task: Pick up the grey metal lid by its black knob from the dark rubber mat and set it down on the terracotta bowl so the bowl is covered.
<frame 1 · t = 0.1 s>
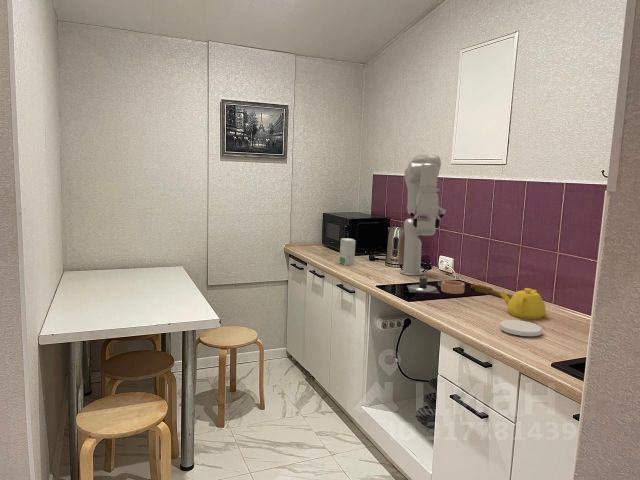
hand: (425, 227, 223), 31 cm above the counter, tool pointing down, fingers open, 9 cm apart
plastic lid: (520, 333, 172), on the counter
lid: (422, 289, 231), point 1 cm above the counter, touching mat
teapot: (520, 314, 195), on the counter
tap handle: (494, 296, 225), on the counter
mat: (422, 290, 232), on the counter
bowl: (452, 292, 230), on the counter
white cylinder: (346, 264, 295), on the counter
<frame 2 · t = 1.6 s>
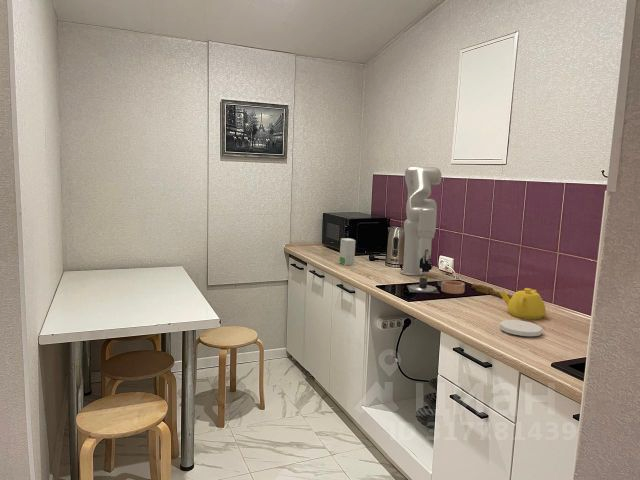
hand: (424, 270, 230), 10 cm above the counter, tool pointing down, fingers open, 9 cm apart
nothing on the counter moved.
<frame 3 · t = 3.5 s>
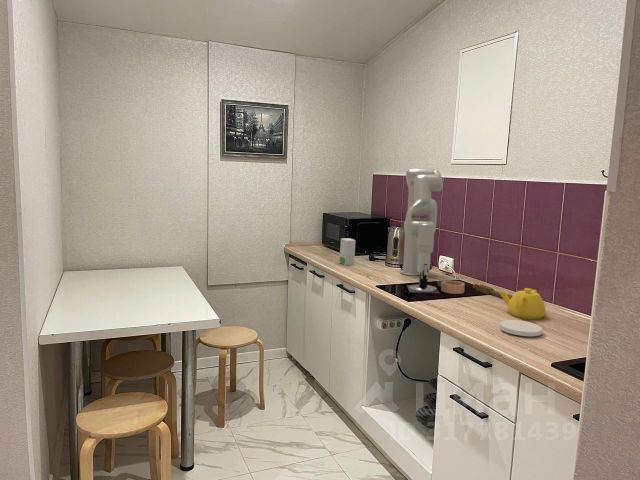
hand: (422, 285, 231), 2 cm above the counter, tool pointing down, fingers closed on lid, 3 cm apart
lid: (422, 289, 231), point 1 cm above the counter, touching gripper, mat
everything else where it was.
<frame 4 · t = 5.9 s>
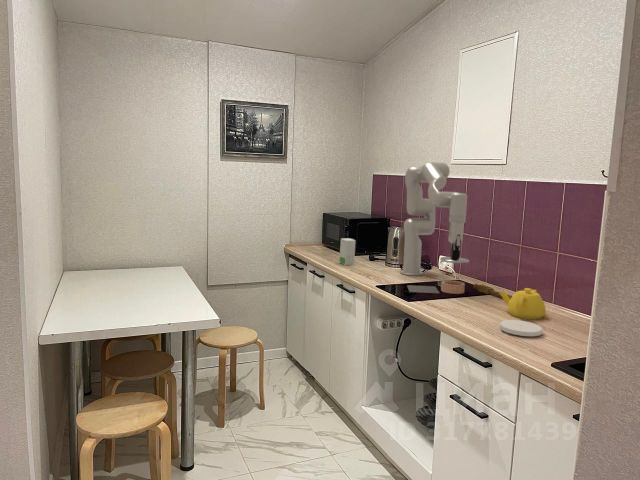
hand: (454, 257, 227), 17 cm above the counter, tool pointing down, fingers closed on lid, 3 cm apart
lid: (454, 260, 228), point 15 cm above the counter, touching gripper
everything else where it was.
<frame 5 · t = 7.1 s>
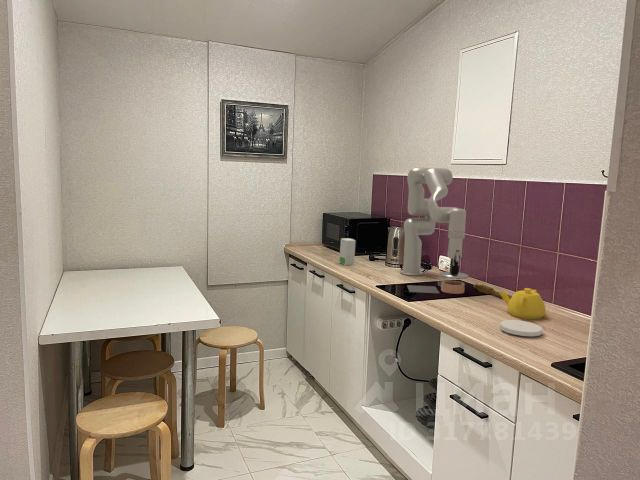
hand: (453, 272, 228), 10 cm above the counter, tool pointing down, fingers closed on lid, 3 cm apart
lid: (453, 276, 228), point 8 cm above the counter, touching gripper
when the fingers open (7 cm above the counter, at t = 8.3 s): lid stays where it is, resting on bowl.
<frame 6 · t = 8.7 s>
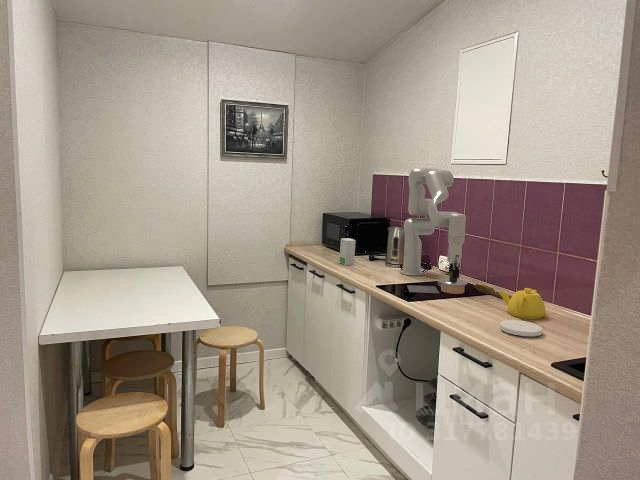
hand: (453, 275, 228), 8 cm above the counter, tool pointing down, fingers open, 8 cm apart
lid: (453, 282, 229), point 4 cm above the counter, touching bowl
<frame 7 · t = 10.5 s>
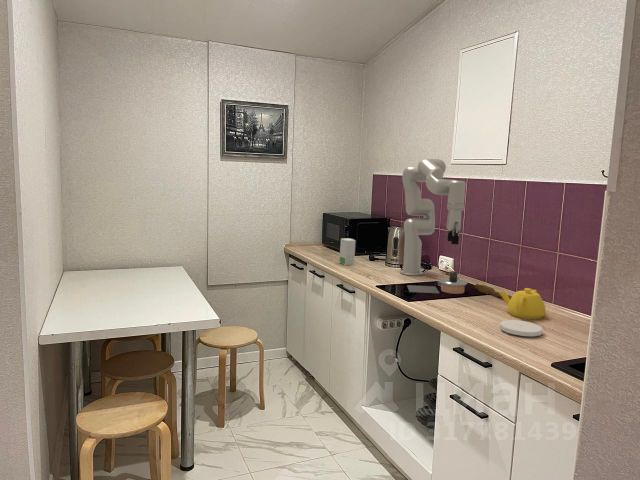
hand: (452, 242, 229), 24 cm above the counter, tool pointing down, fingers open, 9 cm apart
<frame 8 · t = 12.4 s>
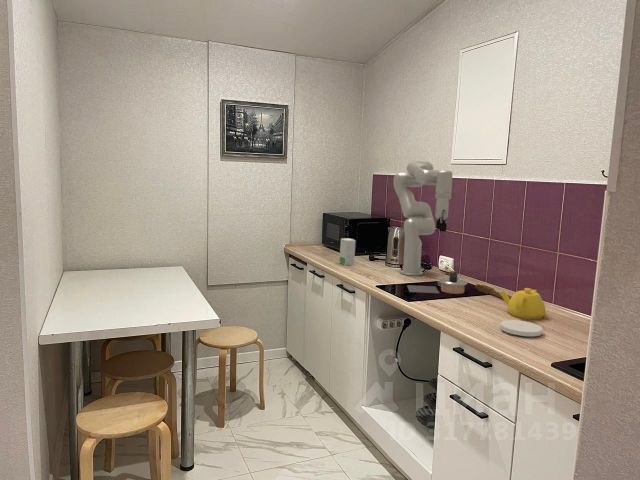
hand: (441, 230, 239), 28 cm above the counter, tool pointing down, fingers open, 9 cm apart
at the end: lid 0.1 cm off-centre on the bowl, point 4.5 cm above the bowl's base; lid tilted 0°; the gripper is holding nothing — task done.
